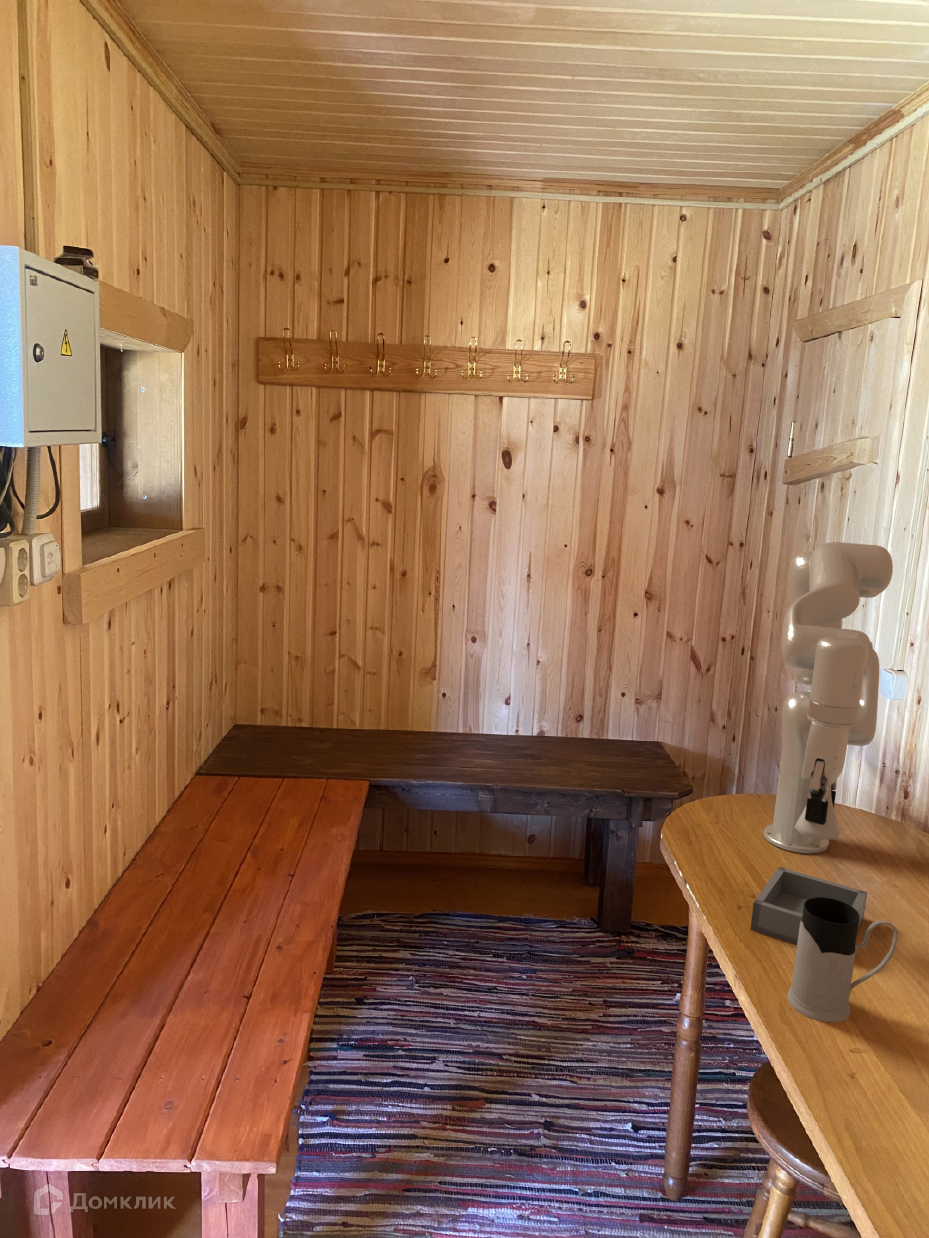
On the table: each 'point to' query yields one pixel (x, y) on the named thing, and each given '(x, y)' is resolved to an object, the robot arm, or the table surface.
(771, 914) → the charcoal box
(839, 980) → the grey mug
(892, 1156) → the table surface
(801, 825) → the flask
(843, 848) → the table surface
